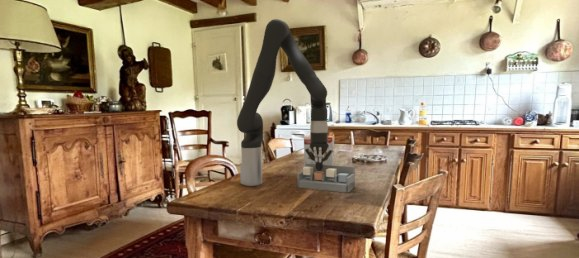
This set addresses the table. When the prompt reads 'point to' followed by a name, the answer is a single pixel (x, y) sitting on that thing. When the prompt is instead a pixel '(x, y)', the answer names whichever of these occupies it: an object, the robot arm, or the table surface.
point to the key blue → (342, 177)
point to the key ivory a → (307, 170)
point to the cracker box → (331, 159)
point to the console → (328, 179)
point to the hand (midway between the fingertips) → (319, 170)
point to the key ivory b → (331, 172)
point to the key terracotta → (318, 175)
